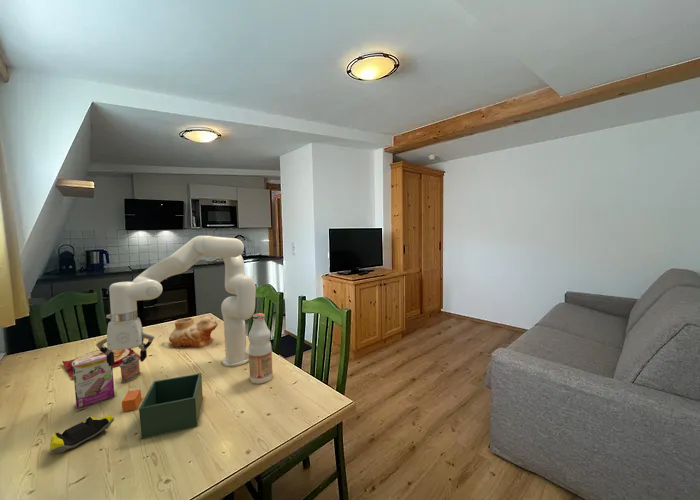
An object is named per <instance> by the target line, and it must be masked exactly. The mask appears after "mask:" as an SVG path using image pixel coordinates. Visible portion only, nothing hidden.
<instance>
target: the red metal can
mask: <svg viewBox="0 0 700 500" xmlns="http://www.w3.org/2000/svg"><path fill="white" fill-rule="evenodd" d="M137 355H138V353H137V352H135V353H134V354H132V355H131V356H126V358H124V359H123V363H122V364H121V365H119V367H120V376H121V380H120V383H121V384H124V383H128V382H130V381H132V380H134V379H136V378H137V377H139V376H140V375H141V371H140V359H139V358H138V357H136V356H137ZM134 357H136V358H134Z"/></svg>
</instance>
